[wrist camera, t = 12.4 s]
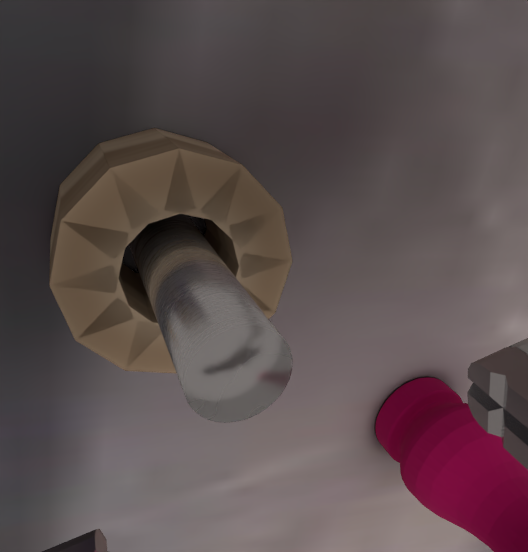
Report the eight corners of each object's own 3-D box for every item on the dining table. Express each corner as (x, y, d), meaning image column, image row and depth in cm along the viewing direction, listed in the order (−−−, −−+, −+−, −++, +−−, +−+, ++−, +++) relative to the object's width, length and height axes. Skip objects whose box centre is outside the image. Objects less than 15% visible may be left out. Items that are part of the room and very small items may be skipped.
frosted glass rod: (180, 191, 23) (281, 308, 13) (197, 248, 24) (300, 395, 14) (116, 211, 22) (169, 352, 12) (137, 269, 23) (200, 438, 13)
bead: (225, 108, 22) (266, 123, 18) (264, 280, 26) (304, 325, 22) (17, 165, 20) (7, 197, 16) (97, 341, 24) (105, 404, 20)
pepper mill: (351, 450, 34) (637, 840, 18) (397, 362, 33) (766, 705, 16) (424, 455, 38) (722, 787, 21) (469, 377, 36) (837, 671, 19)
